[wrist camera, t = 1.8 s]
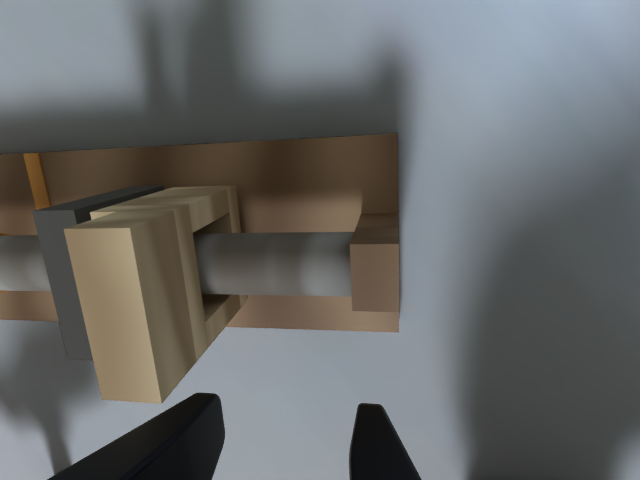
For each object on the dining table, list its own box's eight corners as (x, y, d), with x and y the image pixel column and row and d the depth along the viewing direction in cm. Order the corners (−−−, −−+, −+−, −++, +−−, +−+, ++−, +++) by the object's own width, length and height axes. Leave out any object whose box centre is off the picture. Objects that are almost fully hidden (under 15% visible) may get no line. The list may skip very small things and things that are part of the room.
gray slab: (163, 185, 19) (73, 210, 14) (181, 298, 20) (106, 361, 15) (131, 186, 19) (32, 211, 14) (151, 298, 21) (67, 359, 15)
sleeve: (235, 185, 18) (129, 228, 11) (248, 299, 20) (161, 403, 12) (172, 187, 19) (31, 229, 12) (189, 298, 20) (73, 397, 13)
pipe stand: (397, 133, 18) (398, 139, 13) (398, 320, 21) (399, 396, 15) (-38, 156, 22) (-185, 168, 17) (5, 309, 25) (-111, 366, 19)
